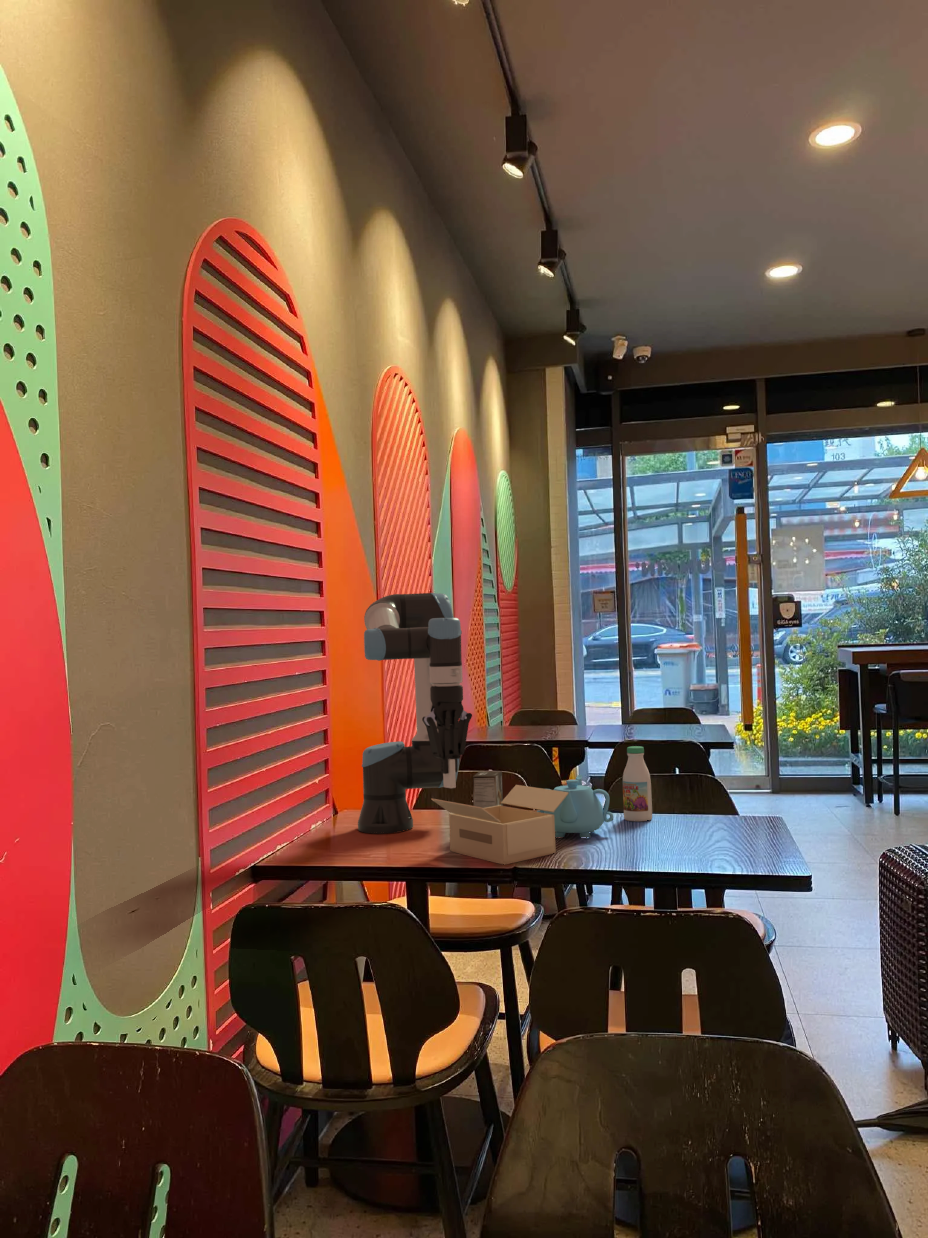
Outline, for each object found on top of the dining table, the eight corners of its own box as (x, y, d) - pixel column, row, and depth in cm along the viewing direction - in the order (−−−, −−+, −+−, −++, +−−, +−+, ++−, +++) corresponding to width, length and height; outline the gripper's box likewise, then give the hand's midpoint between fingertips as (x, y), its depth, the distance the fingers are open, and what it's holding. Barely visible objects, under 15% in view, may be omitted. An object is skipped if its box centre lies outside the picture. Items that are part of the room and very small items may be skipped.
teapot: (582, 825, 255) (580, 773, 256) (623, 837, 237) (620, 781, 238) (529, 832, 248) (527, 778, 249) (567, 845, 231) (565, 787, 231)
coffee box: (480, 831, 251) (478, 771, 252) (504, 831, 250) (502, 770, 251) (474, 838, 242) (472, 776, 243) (498, 838, 241) (496, 775, 242)
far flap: (500, 802, 238) (516, 784, 241) (501, 803, 238) (516, 785, 242) (552, 811, 223) (568, 792, 227) (553, 812, 223) (568, 793, 227)
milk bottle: (631, 816, 266) (628, 744, 266) (657, 818, 261) (654, 745, 262) (619, 820, 260) (616, 747, 260) (645, 823, 255) (642, 748, 256)
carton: (449, 851, 229) (448, 814, 229) (500, 841, 238) (498, 805, 239) (504, 865, 212) (503, 824, 213) (556, 853, 222) (555, 815, 222)
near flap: (449, 812, 228) (431, 799, 225) (449, 811, 228) (431, 798, 225) (500, 822, 213) (481, 808, 210) (500, 821, 213) (482, 807, 210)
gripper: (433, 687, 210) (436, 793, 210) (478, 683, 218) (481, 785, 218) (413, 686, 216) (417, 789, 216) (458, 682, 224) (461, 782, 224)
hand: (449, 787), depth 217 cm, fingers closed
